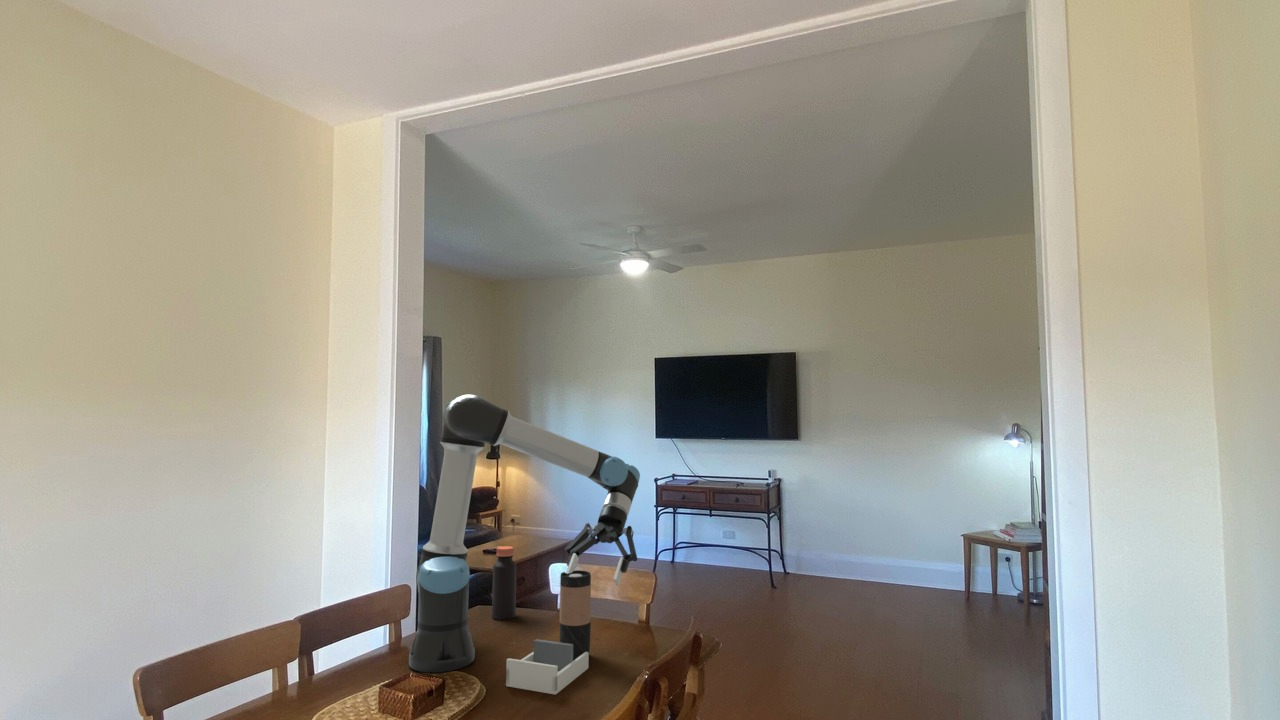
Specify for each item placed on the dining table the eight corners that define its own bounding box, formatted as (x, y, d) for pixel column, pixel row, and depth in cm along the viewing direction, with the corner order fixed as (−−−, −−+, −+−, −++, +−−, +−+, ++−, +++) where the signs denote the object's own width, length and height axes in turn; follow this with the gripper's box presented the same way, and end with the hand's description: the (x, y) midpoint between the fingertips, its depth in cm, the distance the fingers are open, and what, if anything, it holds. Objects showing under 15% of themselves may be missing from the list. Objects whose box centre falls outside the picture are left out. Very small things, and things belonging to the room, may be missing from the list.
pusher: (533, 667, 152) (533, 640, 152) (536, 665, 153) (537, 638, 154) (570, 673, 148) (570, 645, 149) (573, 671, 150) (573, 643, 150)
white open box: (506, 686, 144) (506, 659, 144) (542, 661, 158) (543, 637, 159) (555, 694, 139) (555, 667, 140) (588, 668, 154) (588, 643, 154)
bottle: (487, 616, 194) (489, 547, 196) (507, 612, 198) (509, 544, 200) (499, 622, 189) (500, 550, 191) (519, 617, 193) (521, 547, 195)
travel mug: (585, 664, 156) (586, 578, 158) (554, 662, 158) (555, 576, 160) (594, 653, 164) (594, 571, 166) (564, 651, 165) (565, 569, 167)
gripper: (659, 523, 182) (640, 592, 167) (578, 518, 191) (553, 583, 176) (653, 506, 178) (633, 576, 162) (570, 502, 187) (543, 567, 171)
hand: (591, 580), depth 169 cm, fingers open, 13 cm apart
